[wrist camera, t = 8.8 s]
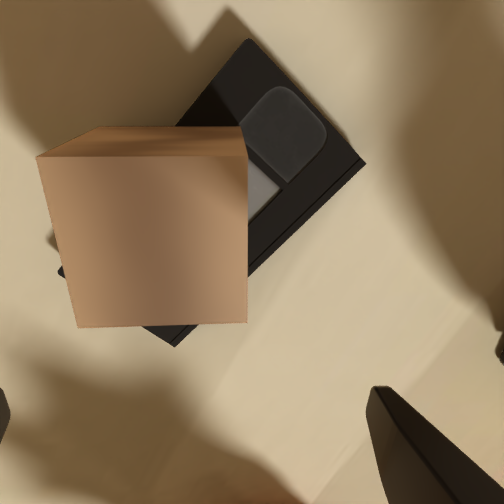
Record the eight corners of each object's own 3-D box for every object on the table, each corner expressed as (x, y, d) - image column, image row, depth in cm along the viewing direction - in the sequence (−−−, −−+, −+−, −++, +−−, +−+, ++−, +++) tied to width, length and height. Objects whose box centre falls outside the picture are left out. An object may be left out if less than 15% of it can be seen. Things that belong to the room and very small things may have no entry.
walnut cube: (240, 126, 16) (248, 156, 11) (240, 250, 19) (247, 322, 14) (99, 126, 16) (35, 156, 10) (120, 252, 19) (78, 328, 13)
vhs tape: (70, 254, 21) (56, 272, 19) (246, 38, 16) (248, 35, 15) (178, 325, 23) (174, 347, 21) (353, 154, 19) (366, 163, 17)
